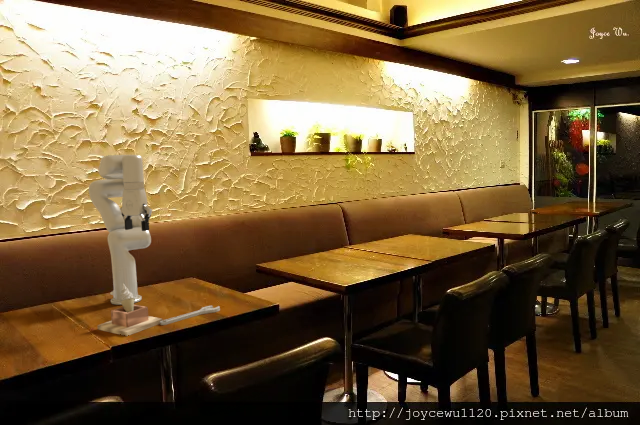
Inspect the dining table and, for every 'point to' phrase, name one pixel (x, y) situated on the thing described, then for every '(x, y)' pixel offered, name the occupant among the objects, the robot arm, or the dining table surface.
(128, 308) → the ice cream cone
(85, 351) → the dining table surface
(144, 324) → the cone stand
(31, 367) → the dining table surface
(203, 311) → the adjustable wrench
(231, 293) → the dining table surface
